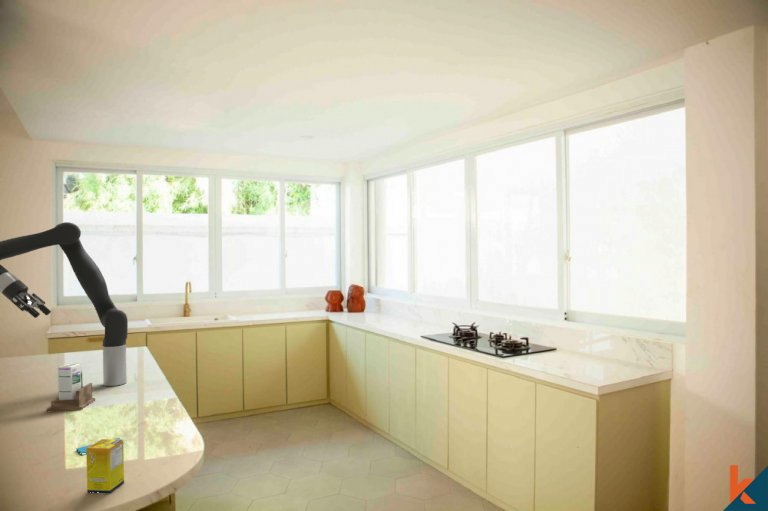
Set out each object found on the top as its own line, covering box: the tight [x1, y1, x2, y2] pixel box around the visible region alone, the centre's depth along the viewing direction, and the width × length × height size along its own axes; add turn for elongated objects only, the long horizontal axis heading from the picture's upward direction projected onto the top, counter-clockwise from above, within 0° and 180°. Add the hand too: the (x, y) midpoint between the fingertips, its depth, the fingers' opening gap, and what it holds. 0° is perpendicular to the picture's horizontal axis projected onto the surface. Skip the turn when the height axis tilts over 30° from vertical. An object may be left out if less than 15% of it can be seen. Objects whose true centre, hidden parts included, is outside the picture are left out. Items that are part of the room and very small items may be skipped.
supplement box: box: [86, 438, 125, 494], centre depth 124 cm, size 6×6×11 cm
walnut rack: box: [46, 382, 96, 413], centre depth 194 cm, size 12×12×7 cm
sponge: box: [76, 437, 121, 454], centre depth 151 cm, size 2×12×6 cm
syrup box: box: [57, 362, 84, 400], centre depth 194 cm, size 6×6×14 cm
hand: (43, 314), depth 199 cm, fingers open, 8 cm apart
